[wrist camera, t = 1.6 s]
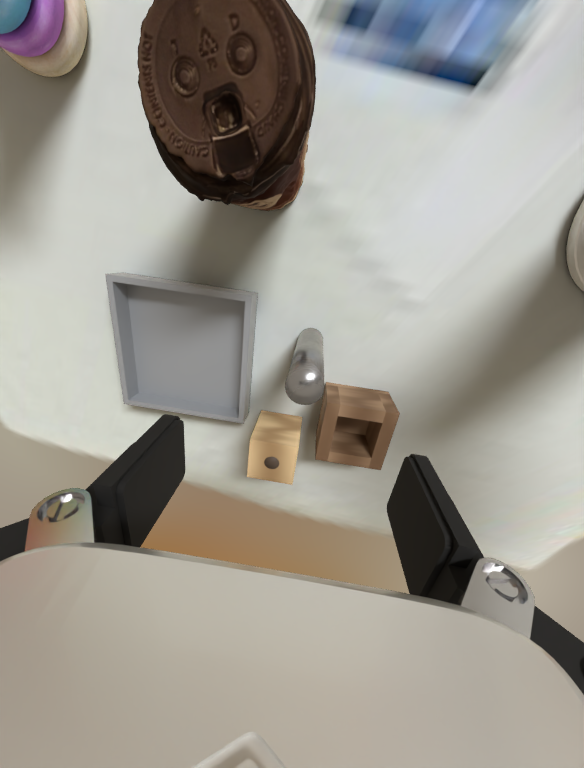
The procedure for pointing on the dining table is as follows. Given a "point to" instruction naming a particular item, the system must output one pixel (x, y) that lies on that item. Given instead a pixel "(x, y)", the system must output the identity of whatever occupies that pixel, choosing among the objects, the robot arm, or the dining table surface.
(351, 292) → the dining table surface
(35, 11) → the stacking toy
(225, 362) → the tray
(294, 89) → the coffee cup
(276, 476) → the oak block
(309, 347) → the cylinder
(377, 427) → the go block
